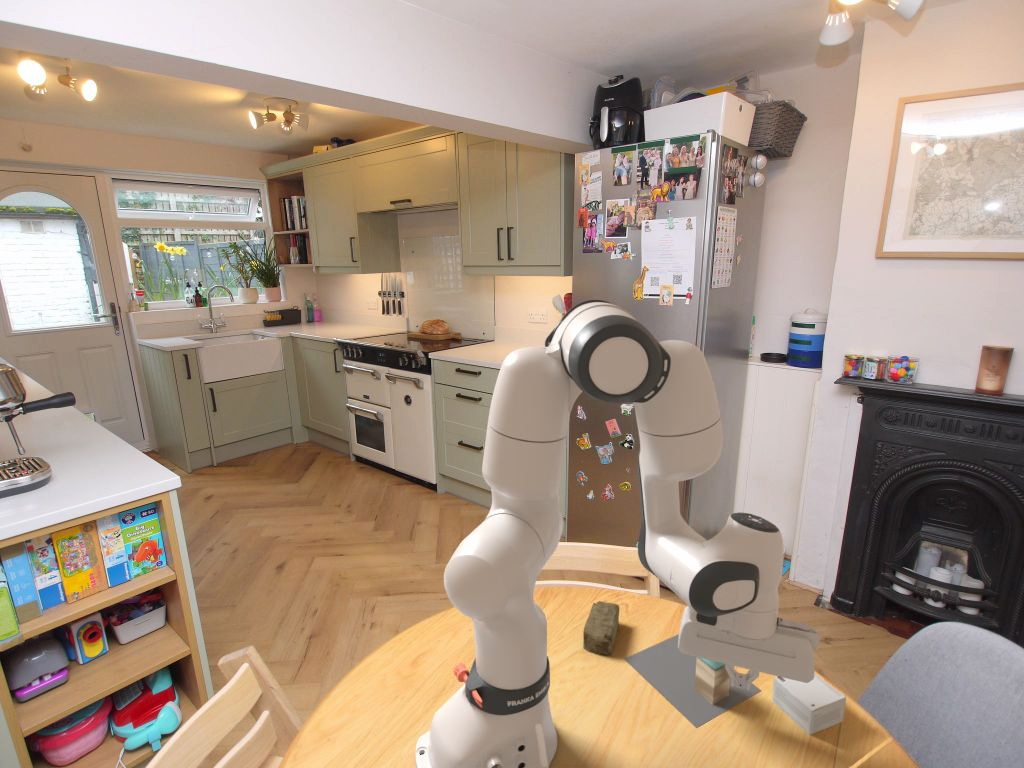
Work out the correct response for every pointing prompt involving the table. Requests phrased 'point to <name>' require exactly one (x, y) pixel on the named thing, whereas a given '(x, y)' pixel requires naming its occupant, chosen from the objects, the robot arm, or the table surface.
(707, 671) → the birch block
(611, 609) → the stone block
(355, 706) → the table surface
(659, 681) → the rubber mat
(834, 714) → the small box
